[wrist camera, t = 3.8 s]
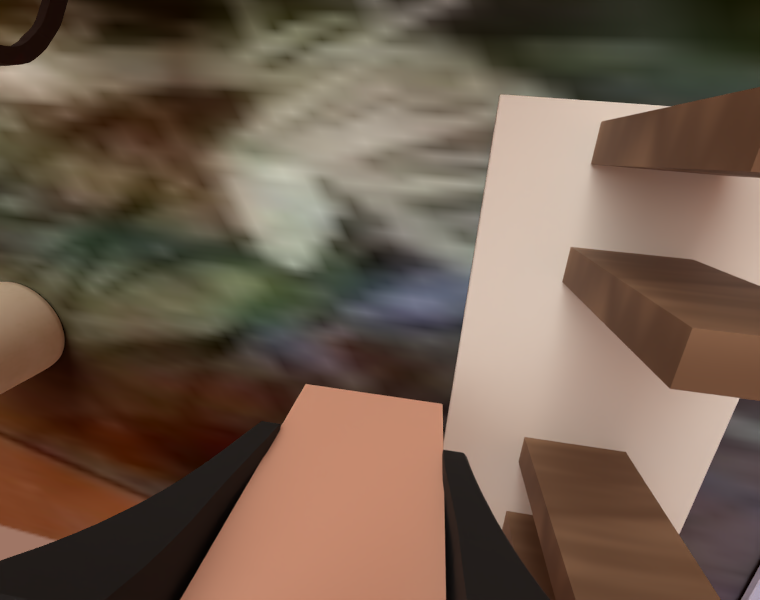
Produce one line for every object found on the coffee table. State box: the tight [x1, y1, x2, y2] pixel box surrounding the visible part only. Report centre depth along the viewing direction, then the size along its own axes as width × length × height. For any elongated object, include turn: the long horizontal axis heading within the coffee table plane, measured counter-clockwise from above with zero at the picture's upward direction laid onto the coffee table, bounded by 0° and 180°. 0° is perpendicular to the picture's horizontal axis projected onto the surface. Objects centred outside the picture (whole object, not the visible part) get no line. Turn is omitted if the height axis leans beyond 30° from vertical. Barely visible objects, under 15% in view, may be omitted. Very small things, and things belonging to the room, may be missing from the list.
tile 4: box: [562, 247, 760, 401], centre depth 14 cm, size 2×5×9 cm, turn 86°
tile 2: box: [519, 437, 721, 600], centre depth 17 cm, size 2×5×9 cm, turn 85°
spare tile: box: [180, 384, 446, 600], centre depth 11 cm, size 2×5×9 cm, turn 85°
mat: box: [443, 95, 760, 534], centre depth 20 cm, size 13×25×1 cm, turn 175°
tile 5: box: [591, 87, 760, 178], centre depth 12 cm, size 2×5×9 cm, turn 85°
